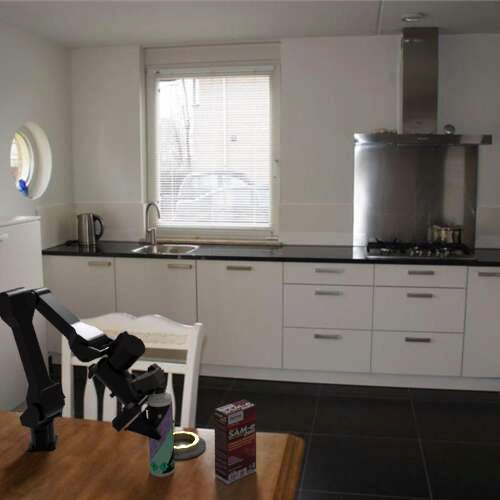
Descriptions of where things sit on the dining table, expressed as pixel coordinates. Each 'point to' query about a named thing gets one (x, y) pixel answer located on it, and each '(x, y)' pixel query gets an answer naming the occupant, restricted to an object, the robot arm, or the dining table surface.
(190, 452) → the dock
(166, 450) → the spray can
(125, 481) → the dining table surface
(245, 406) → the supplement box
